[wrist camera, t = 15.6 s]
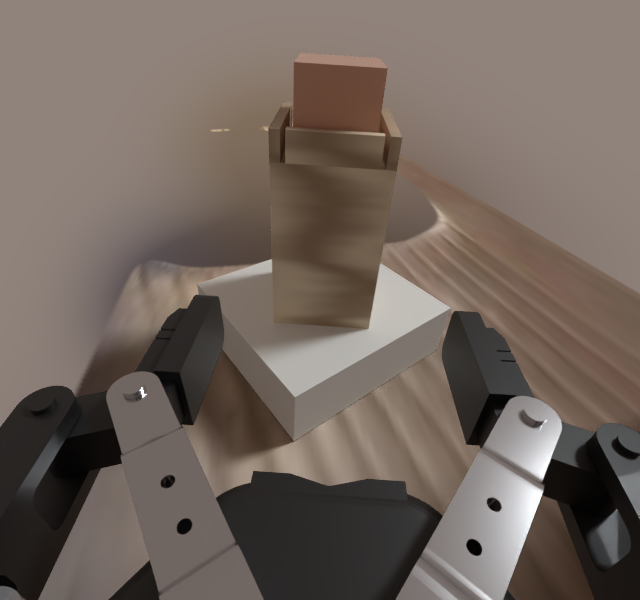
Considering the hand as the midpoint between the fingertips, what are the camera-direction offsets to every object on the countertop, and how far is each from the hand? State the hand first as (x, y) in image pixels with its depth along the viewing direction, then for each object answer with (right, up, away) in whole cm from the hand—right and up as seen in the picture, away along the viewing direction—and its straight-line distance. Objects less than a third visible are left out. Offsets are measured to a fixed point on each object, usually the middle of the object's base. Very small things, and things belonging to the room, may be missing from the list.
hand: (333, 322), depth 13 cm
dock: (0, -2, +16) cm, 16 cm away
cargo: (0, +9, +7) cm, 11 cm away
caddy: (0, +1, +13) cm, 13 cm away
